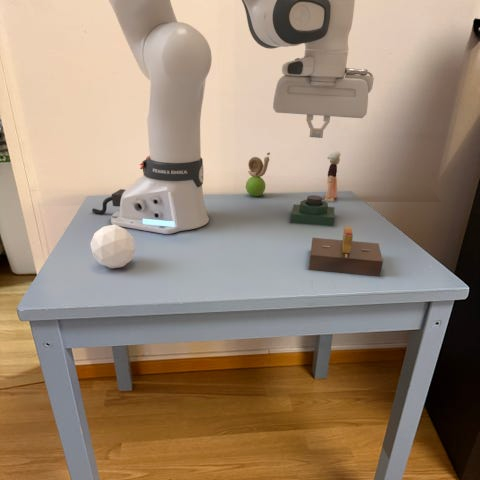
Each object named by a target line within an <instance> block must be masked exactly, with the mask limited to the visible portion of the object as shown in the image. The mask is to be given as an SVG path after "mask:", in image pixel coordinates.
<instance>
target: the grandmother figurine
mask: <svg viewBox="0 0 480 480" xmlns="http://www.w3.org/2000/svg"><path fill="white" fill-rule="evenodd" d="M340 157H341V151H338V150H333V151H331V152H330V153H329V154H328V156H327V160H329V163H330V165H329V167H328V171H327V182H326V183H327V189H326V192H325V196H324V201H325V202H331V203H333V202H335V201H336V200H335V198H337V197H338V180H337V179H338V178H337V173H338V165H339V163H340V161H341V158H340Z"/></svg>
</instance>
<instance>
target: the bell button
mask: <svg viewBox="0 0 480 480" xmlns="http://www.w3.org/2000/svg"><path fill="white" fill-rule="evenodd" d="M306 200H307V205H311V206H321V205H322V201H323V197H322V196H320V195H314V194H313V195H312V194H311V195H307V196H306Z"/></svg>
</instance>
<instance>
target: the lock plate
mask: <svg viewBox="0 0 480 480" xmlns="http://www.w3.org/2000/svg"><path fill="white" fill-rule="evenodd" d="M310 246H311V247H310V256H309V263H308V270H312V271H319V272H320V271H321V272H322V271H323V272H332V273H343V274H351V275H352V274H353V275H360V276H361V275H362V276H371V277H372V276H373V277H380V276H381V273H382V267H383V263H384V260H383V257H382V252H381V247H380V243H378V242H369V241H368V242H367V241H355V240H352V244H351V250H350V253H342V239H332V238H322V237H312V238H311V245H310Z"/></svg>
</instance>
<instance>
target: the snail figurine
mask: <svg viewBox="0 0 480 480" xmlns="http://www.w3.org/2000/svg"><path fill="white" fill-rule="evenodd" d="M266 155H267V156H265V157H264V158H263V160H262V159H261V158H260V157H258V156H253V157H251V158H250V159H249V160H248V165H247V166H248V169H249V170H248V171H247V173H248V174H249V176H251V177H249V178H248V179H247V181H246V182H245V190H246V192H247V194H248V195H250V196H251V197H260V196H261V195H263V194H264V193H265V190H266V187H267V186H266V181H265V180H264V178H263V176H265V174H266V172H267V170H268V166H269V162H270V155H271V152H270V151H269V152H267V153H266Z"/></svg>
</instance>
